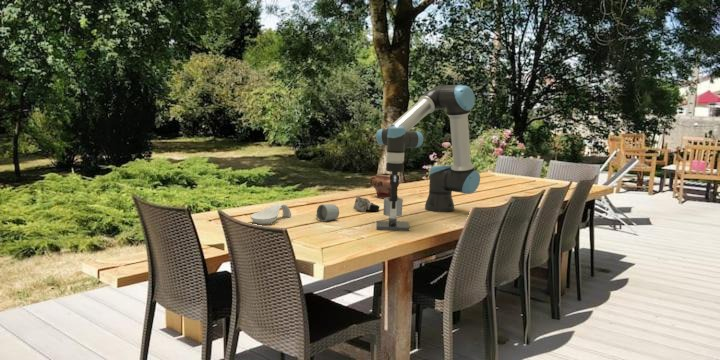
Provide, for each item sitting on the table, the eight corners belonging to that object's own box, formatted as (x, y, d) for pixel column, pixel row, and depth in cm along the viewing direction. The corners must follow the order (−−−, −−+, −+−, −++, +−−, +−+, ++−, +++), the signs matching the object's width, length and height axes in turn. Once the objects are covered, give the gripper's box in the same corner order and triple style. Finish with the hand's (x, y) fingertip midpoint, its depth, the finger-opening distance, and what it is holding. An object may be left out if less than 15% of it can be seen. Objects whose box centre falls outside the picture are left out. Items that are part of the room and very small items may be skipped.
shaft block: (407, 225, 254) (408, 206, 253) (409, 231, 242) (410, 211, 241) (376, 224, 254) (377, 205, 253) (376, 229, 242) (377, 210, 241)
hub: (401, 213, 251) (402, 197, 250) (402, 216, 243) (402, 200, 242) (383, 212, 251) (384, 197, 250) (383, 216, 243) (384, 199, 243)
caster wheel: (379, 215, 289) (373, 215, 279) (359, 208, 292) (352, 208, 283) (382, 202, 288) (377, 202, 279) (362, 196, 292) (356, 196, 282)
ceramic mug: (340, 220, 260) (340, 203, 259) (327, 222, 254) (327, 205, 253) (324, 217, 267) (325, 201, 266) (311, 219, 261) (311, 202, 260)
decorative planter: (363, 196, 329) (363, 173, 328) (373, 194, 340) (374, 171, 338) (393, 200, 319) (394, 176, 317) (403, 198, 330) (404, 174, 328)
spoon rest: (266, 227, 241) (266, 211, 240) (244, 224, 246) (244, 208, 245) (297, 218, 262) (297, 203, 261) (276, 215, 267) (276, 200, 266)
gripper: (385, 159, 255) (383, 209, 258) (386, 164, 234) (384, 218, 237) (402, 160, 255) (400, 210, 258) (405, 164, 234) (402, 219, 237)
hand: (392, 214), depth 247 cm, fingers closed on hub, 8 cm apart
